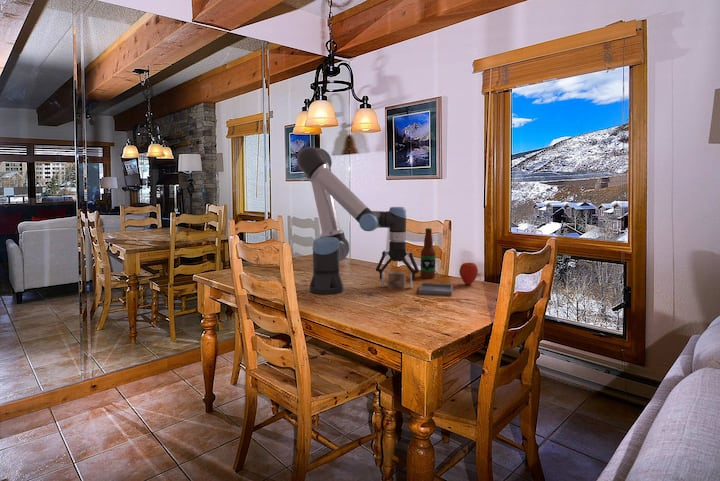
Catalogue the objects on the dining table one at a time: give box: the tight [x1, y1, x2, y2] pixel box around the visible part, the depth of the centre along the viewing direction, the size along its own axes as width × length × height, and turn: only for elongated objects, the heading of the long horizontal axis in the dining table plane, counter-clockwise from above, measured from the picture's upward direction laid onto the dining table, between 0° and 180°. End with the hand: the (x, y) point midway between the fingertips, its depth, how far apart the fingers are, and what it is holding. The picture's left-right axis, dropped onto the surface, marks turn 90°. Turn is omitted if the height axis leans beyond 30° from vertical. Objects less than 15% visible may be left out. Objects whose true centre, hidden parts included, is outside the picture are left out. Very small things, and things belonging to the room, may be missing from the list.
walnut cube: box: [387, 270, 407, 290], centre depth 213 cm, size 7×7×7 cm
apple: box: [459, 262, 479, 285], centre depth 218 cm, size 9×8×11 cm
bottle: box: [420, 227, 436, 280], centre depth 233 cm, size 7×7×25 cm
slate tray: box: [418, 282, 453, 297], centre depth 206 cm, size 14×14×2 cm
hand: (397, 287), depth 213 cm, fingers open, 12 cm apart
